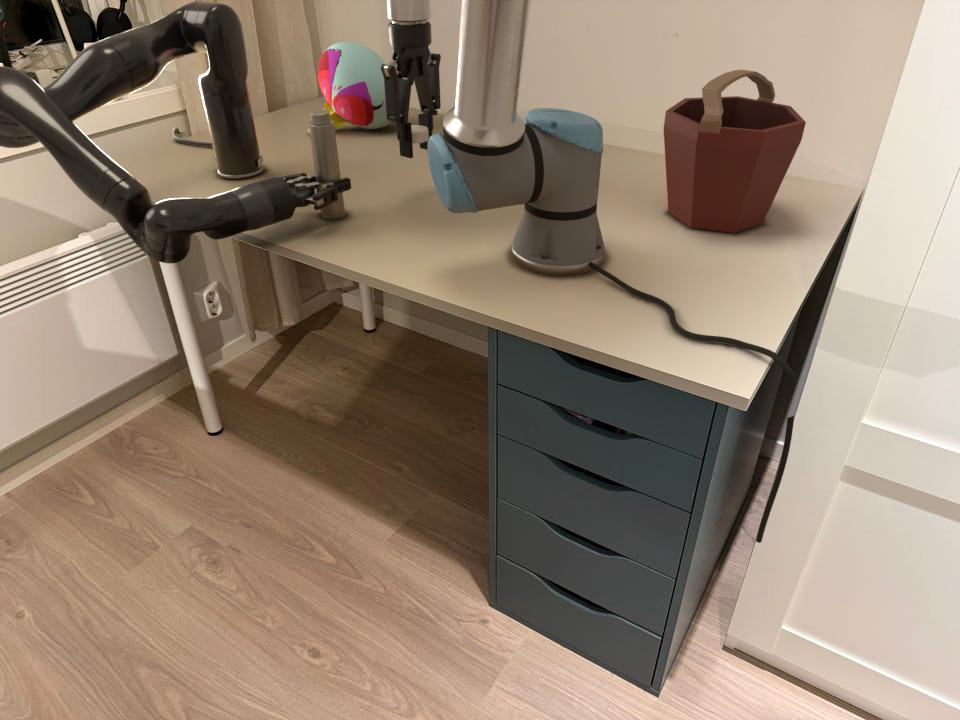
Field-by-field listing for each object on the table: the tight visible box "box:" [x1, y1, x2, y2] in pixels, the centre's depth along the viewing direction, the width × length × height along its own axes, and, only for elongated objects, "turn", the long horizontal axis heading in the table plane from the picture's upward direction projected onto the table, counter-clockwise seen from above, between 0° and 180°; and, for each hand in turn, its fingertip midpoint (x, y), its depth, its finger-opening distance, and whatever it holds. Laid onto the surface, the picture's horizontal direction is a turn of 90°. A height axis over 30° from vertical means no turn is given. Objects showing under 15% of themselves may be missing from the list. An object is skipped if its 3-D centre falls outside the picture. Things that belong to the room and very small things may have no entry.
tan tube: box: [307, 109, 346, 221], centre depth 128 cm, size 4×4×19 cm
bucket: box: [663, 69, 807, 234], centre depth 125 cm, size 24×22×25 cm
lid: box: [411, 124, 429, 144], centre depth 134 cm, size 5×5×2 cm
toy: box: [307, 41, 393, 133], centre depth 176 cm, size 24×24×20 cm
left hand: (341, 179), depth 131 cm, fingers closed on tan tube, 4 cm apart
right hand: (416, 152), depth 136 cm, fingers closed on lid, 5 cm apart
